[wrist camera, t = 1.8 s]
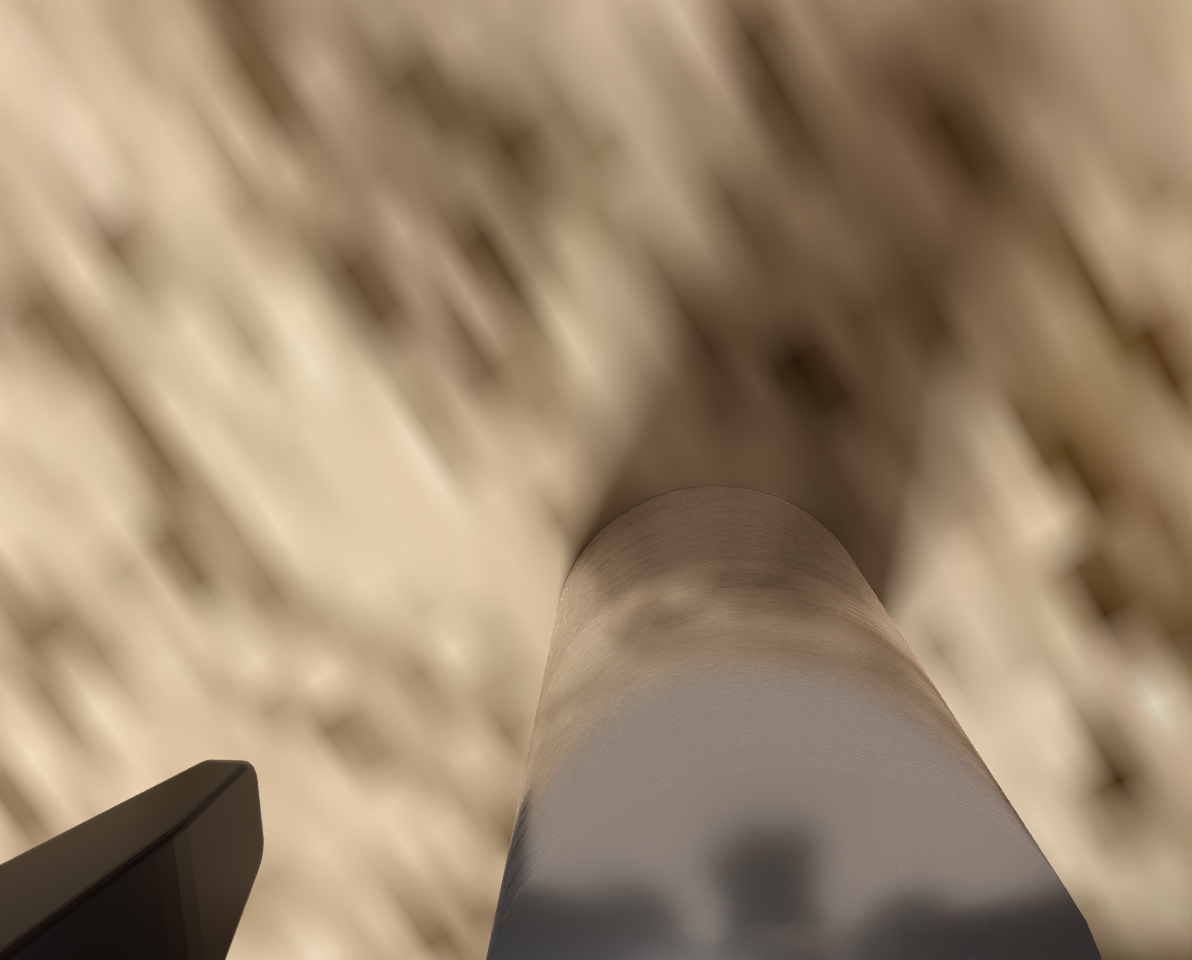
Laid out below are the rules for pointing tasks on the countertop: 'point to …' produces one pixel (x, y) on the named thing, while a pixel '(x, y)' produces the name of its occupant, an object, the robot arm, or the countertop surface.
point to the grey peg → (756, 766)
